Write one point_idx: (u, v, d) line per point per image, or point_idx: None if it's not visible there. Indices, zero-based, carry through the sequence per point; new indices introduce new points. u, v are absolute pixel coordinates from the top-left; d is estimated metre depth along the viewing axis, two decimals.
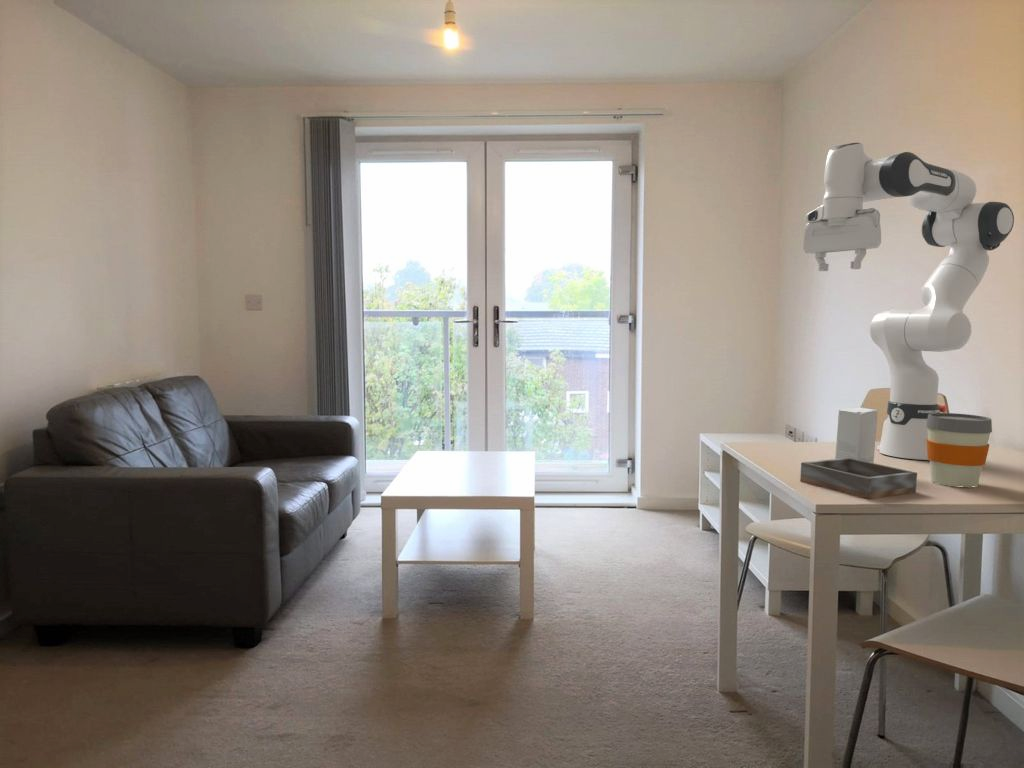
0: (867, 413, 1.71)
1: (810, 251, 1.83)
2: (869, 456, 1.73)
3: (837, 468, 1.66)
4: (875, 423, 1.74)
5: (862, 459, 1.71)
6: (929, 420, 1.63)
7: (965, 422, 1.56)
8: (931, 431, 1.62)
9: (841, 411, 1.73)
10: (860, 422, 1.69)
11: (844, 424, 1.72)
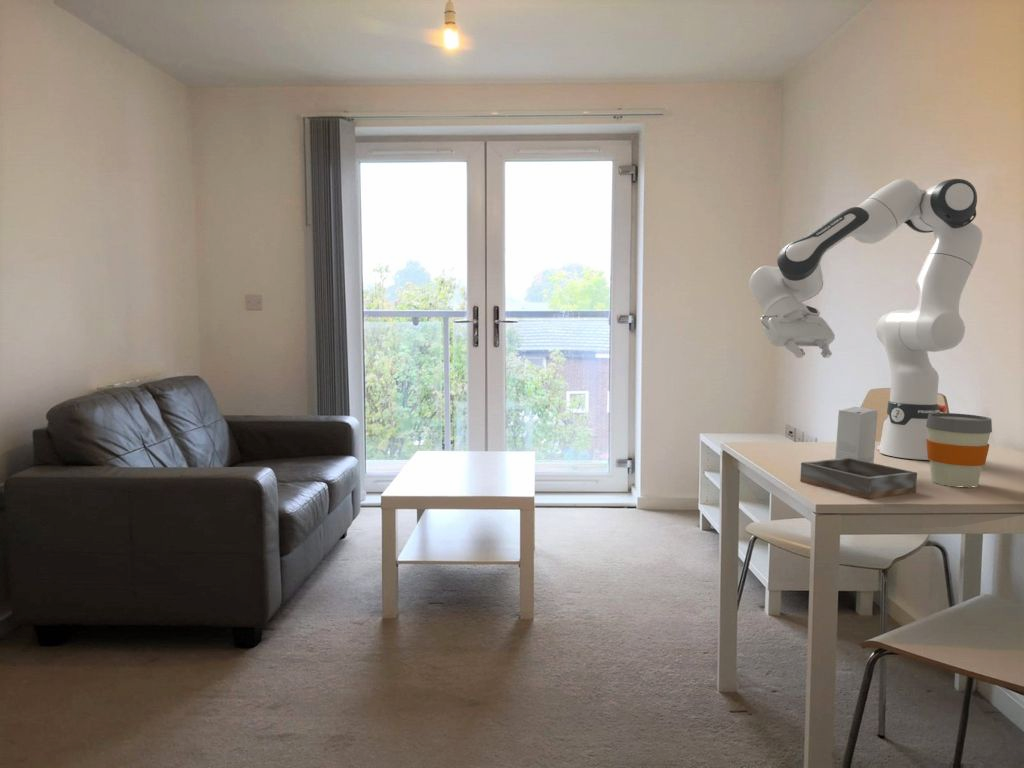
0: (867, 413, 1.71)
1: None
2: (869, 456, 1.73)
3: (837, 468, 1.66)
4: (875, 423, 1.74)
5: (862, 459, 1.71)
6: (929, 420, 1.63)
7: (965, 422, 1.56)
8: (931, 431, 1.62)
9: (841, 411, 1.73)
10: (860, 423, 1.69)
11: (844, 424, 1.72)
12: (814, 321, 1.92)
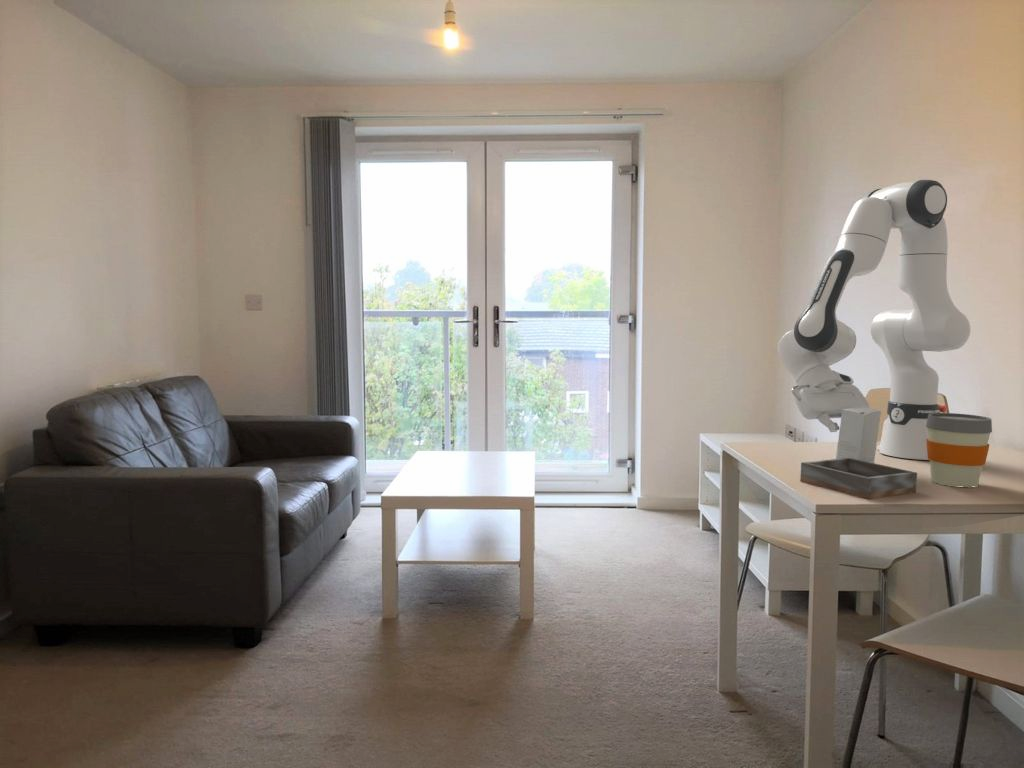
0: (870, 414, 1.70)
1: None
2: (869, 456, 1.73)
3: (837, 468, 1.66)
4: (877, 423, 1.73)
5: (863, 459, 1.71)
6: (929, 420, 1.63)
7: (965, 422, 1.56)
8: (931, 431, 1.62)
9: (844, 410, 1.72)
10: (863, 423, 1.69)
11: (847, 423, 1.72)
12: (847, 390, 1.83)
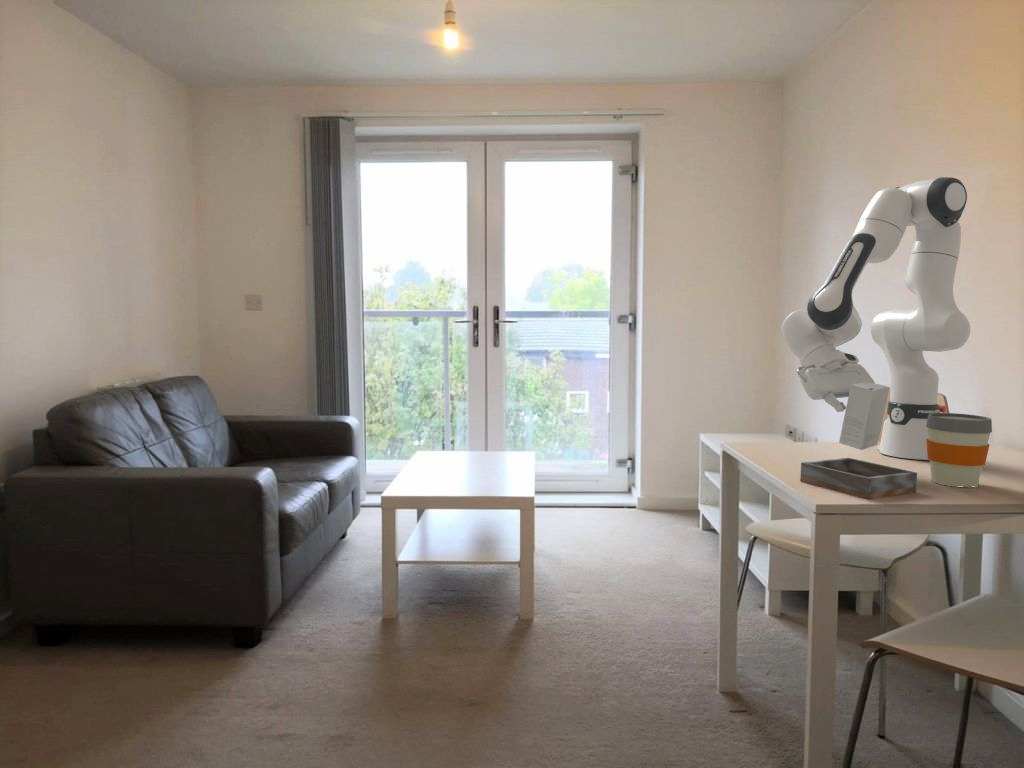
0: (879, 390, 1.69)
1: None
2: (875, 432, 1.72)
3: (837, 468, 1.66)
4: (885, 400, 1.72)
5: (868, 435, 1.70)
6: (929, 420, 1.63)
7: (965, 422, 1.56)
8: (931, 431, 1.62)
9: (853, 386, 1.70)
10: (871, 399, 1.68)
11: (854, 399, 1.70)
12: (853, 369, 1.81)
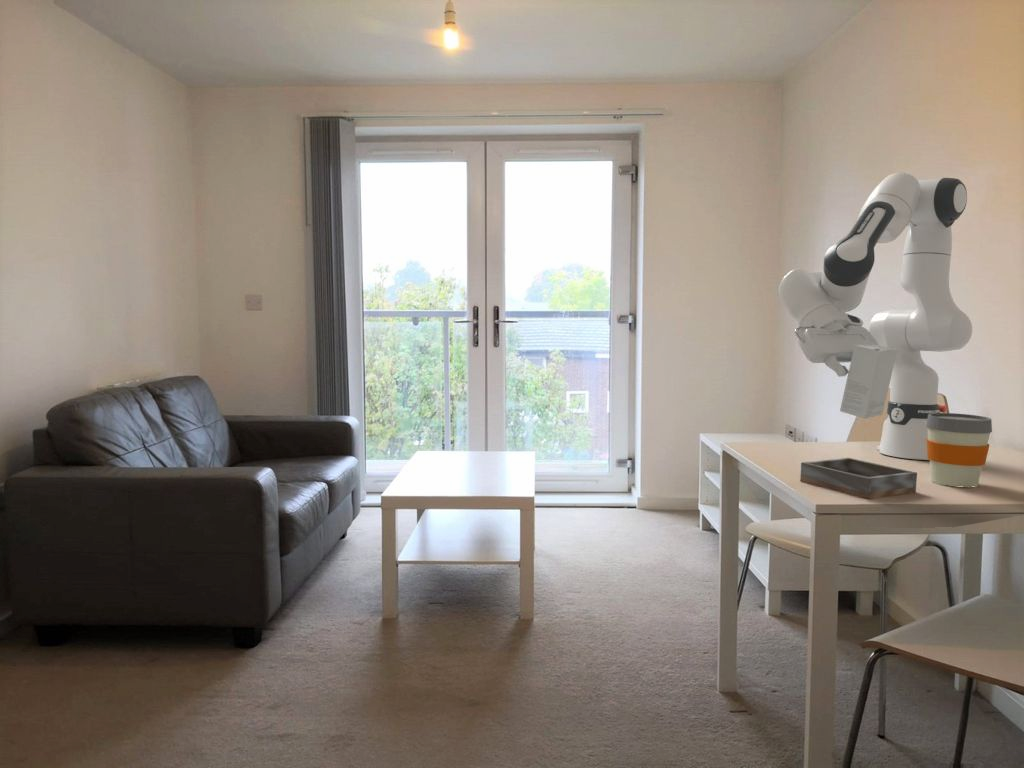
0: (886, 351, 1.51)
1: None
2: (880, 400, 1.55)
3: (837, 468, 1.66)
4: (892, 364, 1.54)
5: (873, 402, 1.53)
6: (929, 420, 1.63)
7: (965, 422, 1.56)
8: (931, 431, 1.62)
9: (857, 347, 1.53)
10: (877, 361, 1.50)
11: (858, 361, 1.53)
12: (856, 332, 1.64)
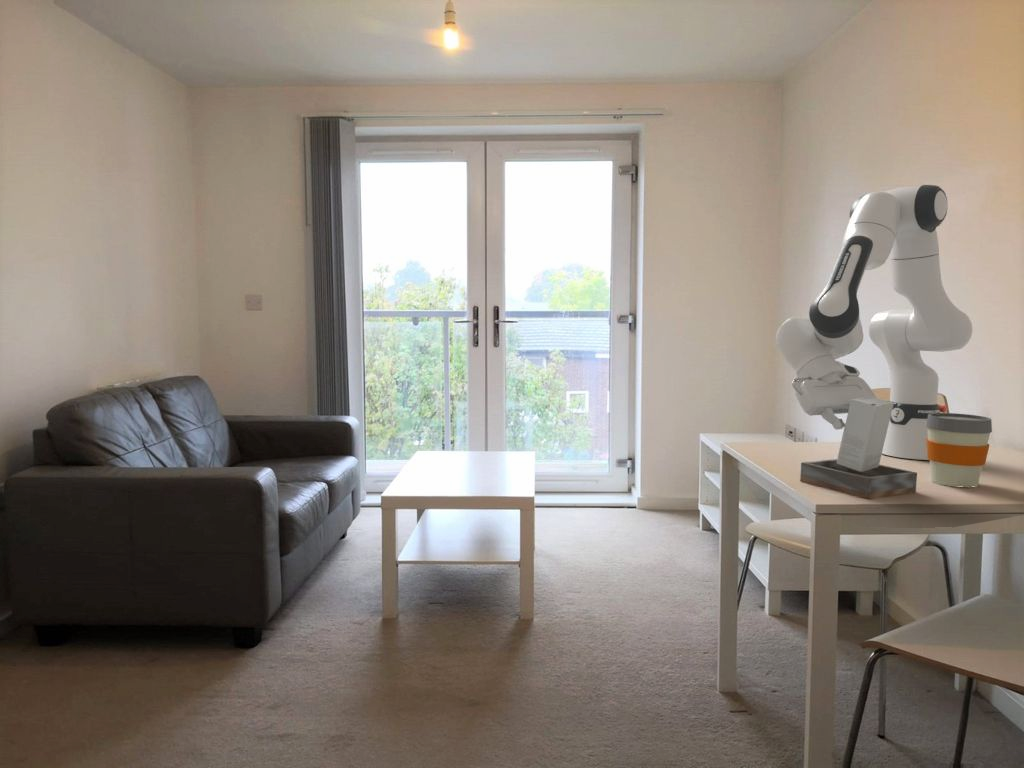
0: (882, 406, 1.52)
1: None
2: (876, 453, 1.56)
3: (837, 468, 1.66)
4: (888, 417, 1.55)
5: (869, 456, 1.54)
6: (929, 420, 1.63)
7: (965, 422, 1.56)
8: (931, 431, 1.62)
9: (853, 401, 1.54)
10: (873, 416, 1.51)
11: (855, 415, 1.54)
12: (853, 383, 1.65)
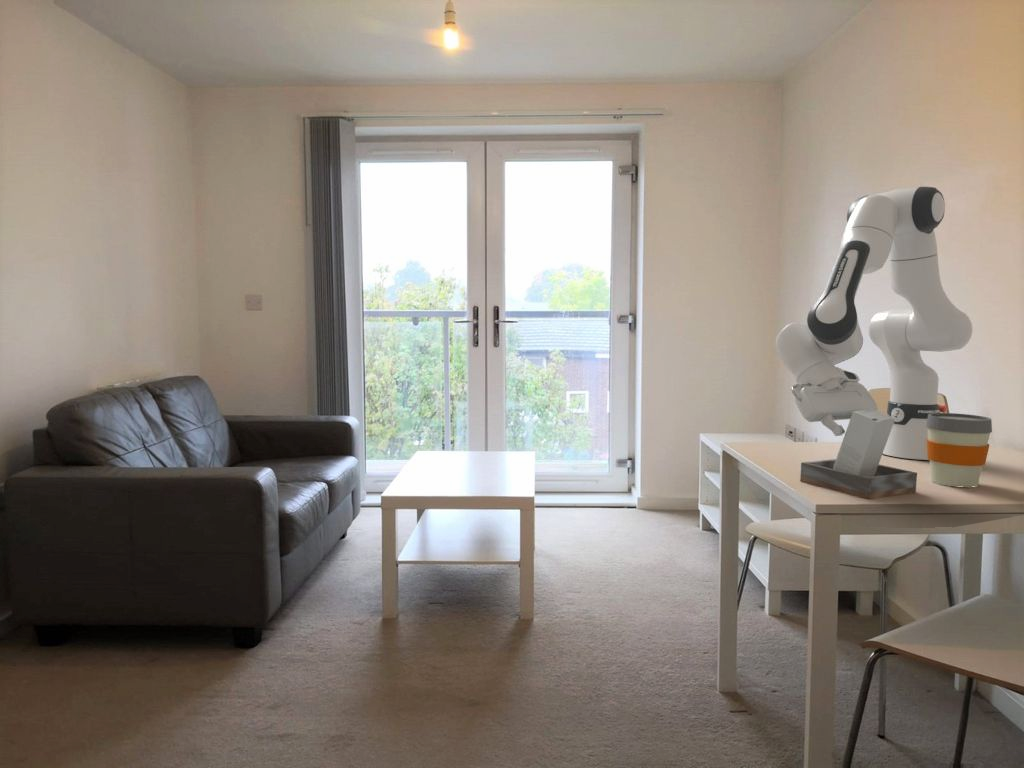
0: (883, 421, 1.52)
1: None
2: (872, 466, 1.56)
3: None
4: (888, 432, 1.55)
5: (864, 469, 1.54)
6: (929, 420, 1.63)
7: (965, 422, 1.56)
8: (931, 431, 1.62)
9: (855, 413, 1.54)
10: (873, 431, 1.51)
11: (855, 428, 1.54)
12: (853, 389, 1.65)
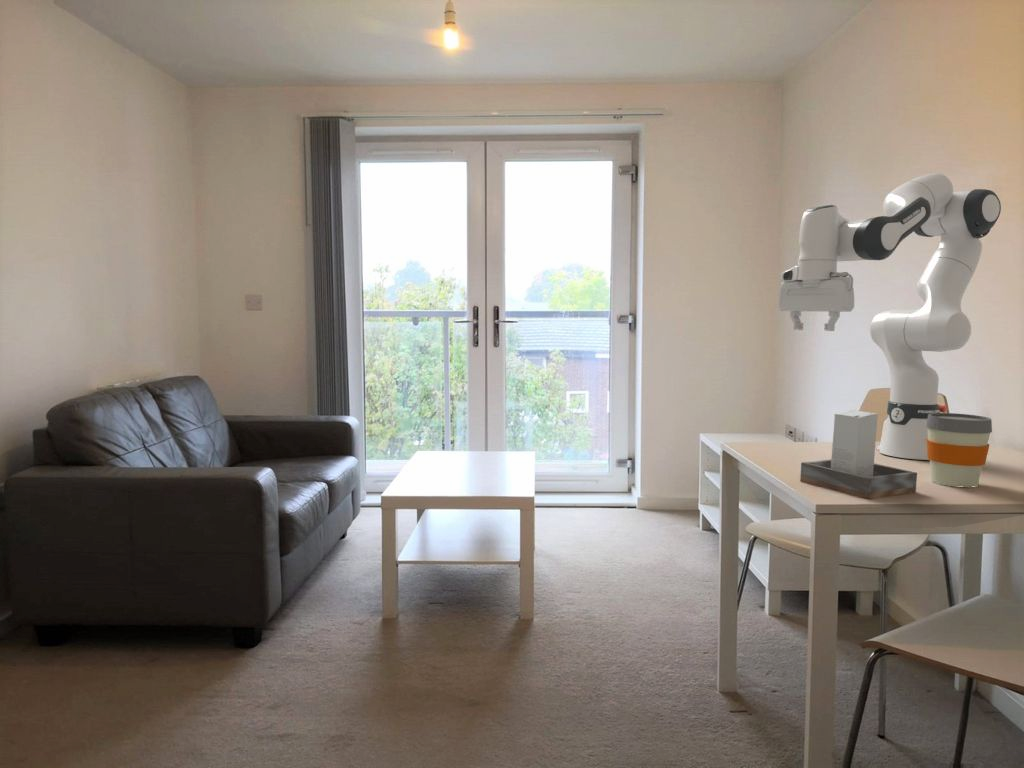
0: (866, 417, 1.55)
1: (785, 309, 1.84)
2: (868, 464, 1.57)
3: None
4: (875, 428, 1.58)
5: (860, 468, 1.55)
6: (929, 420, 1.63)
7: (965, 422, 1.56)
8: (931, 431, 1.62)
9: (837, 415, 1.57)
10: (858, 428, 1.53)
11: (841, 429, 1.56)
12: None
